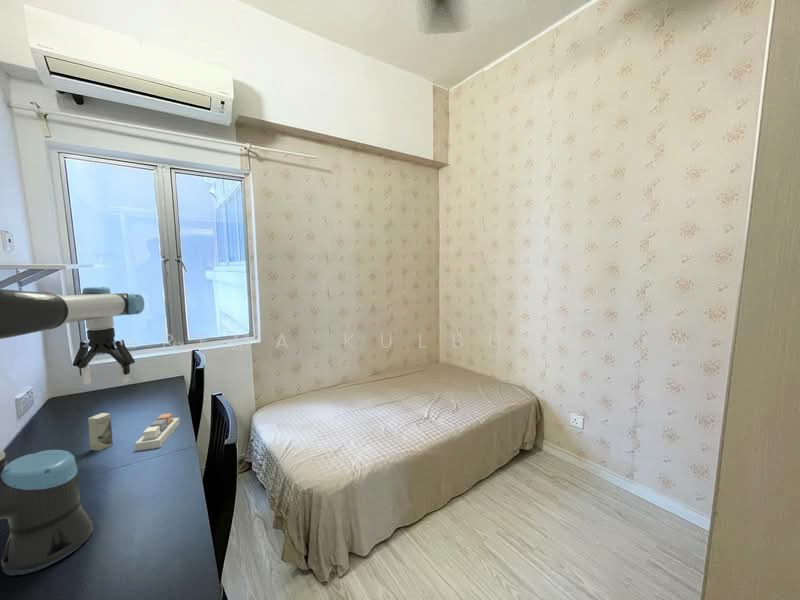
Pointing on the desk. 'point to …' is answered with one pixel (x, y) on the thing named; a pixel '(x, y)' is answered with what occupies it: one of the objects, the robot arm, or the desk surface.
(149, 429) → the key ivory
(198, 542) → the desk surface
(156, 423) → the key slate
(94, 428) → the box
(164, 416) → the key terracotta
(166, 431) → the keypad housing
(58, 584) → the desk surface
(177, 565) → the desk surface
